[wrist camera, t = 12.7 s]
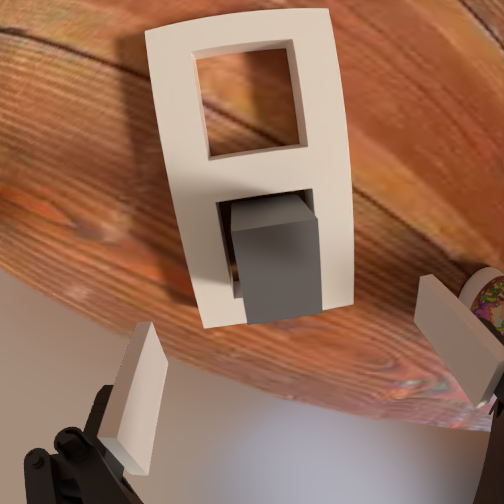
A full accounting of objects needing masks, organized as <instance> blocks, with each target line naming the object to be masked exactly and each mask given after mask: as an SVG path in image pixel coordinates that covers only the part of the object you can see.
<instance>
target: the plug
mask: <svg viewBox="0 0 504 504" xmlns="http://www.w3.org/2000/svg"><path fill="white" fill-rule="evenodd" d="M231 235H232V241H233V246H234V252H235V258H236V263H237V269H238V275H239V280H240V286H241V291H242V297H243V303H244V308H245V314H246V319H247V324H248V325H251V324H257V323H264V322H271V321H277V320H283V319H289V318H295V317H301V316H307V315H313V314H318V313H322V283H321V261H320V243H319V228H318V218H317V217H316V216H315V215H314V214H313V212H312V211H311V210H310V209H309V208H308V207H307V205H306V204H305V203H304V202H303V201H302V200H301V198H300V197H299V196H298V195H297V194H291V195H284V196H277V197H269V198H262V199H256V200H249V201H242V202H236V203H231Z"/></svg>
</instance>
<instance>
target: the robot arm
mask: <svg viewBox="0 0 504 504" xmlns="http://www.w3.org/2000/svg"><path fill="white" fill-rule="evenodd" d="M414 322H415V324H416V325H417V326H418V328H419V329H420V330H421V332H422V333H423V334H424V336H425V337H426V338H427V340H428V341H429V342H430V344H431V345H432V346H433V348H434V349H435V350H436V352H437V353H438V355H439V356H440V357H441V359H442V360H443V361H444V363H445V364H446V366H447V367H448V369H449V370H450V371H451V373H452V374H453V376H454V377H455V379H456V380H457V381H458V383H459V384H460V386H461V387H462V389H463V390H464V392H465V393H466V395H467V396H468V398H469V399H470V401H471V402H472V404H473V405H474V407H475V408H476V409H477V408H479V407H481V406H483V405H485V404H487V403H489V401H490V399H491V397H492V395H493V394H495V395H496V397H497V399H496V401H495V403H494V404H493V406H492V408H491V410H490V412H489V414H488V415H491V413H492V412H493V410H494V413H493V420H492V426H491V432H490V438H489V443H488V448H487V453H486V457H485V462H484V466H483V470H482V474H481V478H480V481H479V485H478V488H477V492H476V495H475V498H474V502H473V504H504V335H502V333H501V332H500V331H499V330H497V328H496V327H495V326H494V325H493V324H492V323H491V322H490V321H488V320H486V319H485V318H483V317H480V318H477V317H476V316H475V315H474V314H473V313H472V312H471V311H470V310H469V309H468V308H467V307H466V306H465V305H464V304H463V303H462V302H461V301H460V300H459V299H458V298H457V297H456V296H455V295H454V294H453V293H452V292H451V291H450V290H449V289H448V288H447V287H445V286H444V285H443V284H442V283H441V282H440V281H439V280H438V279H437V278H436V277H435V276H434V275H433V274H430V275H426V276H421V277H420V282H419V289H418V296H417V303H416V310H415V316H414ZM167 367H168V362H167V359H166V357H165V354H164V352H163V349H162V347H161V344H160V342H159V339H158V337H157V334H156V331H155V329H154V326H153V324H152V321H149V322H139V323H137V324H136V326H135V329H134V332H133V334H132V337H131V339H130V342H129V345H128V347H127V350H126V353H125V355H124V358H123V361H122V363H121V366H120V369H119V372H118V375H117V377H116V380H115V383H114V385H104V386H103V387H102V389H101V390H100V391H99V392H98V393H97V395H96V398H95V400H94V405H93V406H92V409H91V413H90V414H89V417H88V420H87V423H86V426H85V428H84V431H83V432H82V431H81V429H79V428H77V427H68V428H65V429H63V430H61V431H60V432H59V433H58V434H57V436H56V437H55V440H54V448H55V450H57V452H58V454H52V455H50V454H49V453H48V452H47V451H46V450H45V449H42V448H35V449H33V450H31V451H30V452H29V453H28V454H27V455H26V457H25V459H24V476H25V488H26V498H27V504H144V503H143V502H142V501H141V500H140V498H139V497H138V496H137V494H136V493H135V492H134V490H133V489H132V487H131V486H130V484H129V483H128V482H127V480H126V479H125V478H124V477H123V471H124V468H125V469H126V470H127V471H128V472H129V473H130V474H134V475H148V474H149V466H150V460H151V454H152V448H153V442H154V436H155V430H156V425H157V419H158V413H159V408H160V402H161V397H162V392H163V387H164V381H165V377H166V372H167Z"/></svg>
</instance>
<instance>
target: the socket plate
mask: <svg viewBox="0 0 504 504" xmlns="http://www.w3.org/2000/svg"><path fill="white" fill-rule="evenodd" d="M145 40H146V48H147V56H148V63H149V70H150V77H151V84H152V91H153V97H154V104H155V110H156V116H157V122H158V128H159V133H160V139H161V144H162V150H163V155H164V160H165V166H166V171H167V176H168V181H169V186H170V190H171V195H172V200H173V205H174V209H175V214H176V218H177V223H178V227H179V232H180V236H181V240H182V245H183V249H184V253H185V257H186V261H187V265H188V269H189V273H190V277H191V281H192V285H193V289H194V293H195V297H196V300H197V304H198V308H199V312H200V315H201V319H202V322H203V326H204V328H211V327H219V326H226V325H234V324H241V323H247V319H246V314H245V308H244V303H243V297H242V291H241V286H240V280H239V281H233V276H232V271H231V265H230V260H229V255H228V249H227V244H226V238H225V233H224V228H223V222H222V217H221V211H220V205H219V202H221V201H227V200H233V199H240V198H246V197H253V196H259V195H266V194H273V193H280V192H288V191H295V190H303V189H305V198H306V205H307V207H308V208H309V209H310V210H311V211H312V212H313V214H314V215H315V216H316V217H317V218H318V228H319V243H320V261H321V283H322V310H326V309H331V308H337V307H342V306H347V305H352V304H353V301H354V232H353V204H352V185H351V170H350V157H349V145H348V135H347V125H346V116H345V107H344V99H343V92H342V84H341V77H340V71H339V64H338V58H337V52H336V46H335V41H334V35H333V30H332V25H331V20H330V15H329V10H328V9H326V8H298V9H274V10H260V11H249V12H240V13H232V14H225V15H218V16H211V17H205V18H200V19H194V20H189V21H184V22H180V23H175V24H171V25H166V26H162V27H158V28H154V29H151V30H147V31H145ZM282 48H286V52H287V58H288V64H289V70H290V77H291V83H292V90H293V97H294V104H295V111H296V119H297V127H298V134H299V143H300V144H297V145H288V146H280V147H272V148H264V149H257V150H250V151H243V152H236V153H230V154H224V155H218V156H212V157H211V153H210V148H209V142H208V136H207V129H206V123H205V117H204V111H203V105H202V98H201V92H200V85H199V79H198V72H197V66H196V60H197V59H203V58H208V57H214V56H221V55H227V54H234V53H242V52H250V51H259V50H269V49H282Z"/></svg>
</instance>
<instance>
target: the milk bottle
mask: <svg viewBox="0 0 504 504" xmlns="http://www.w3.org/2000/svg"><path fill="white" fill-rule="evenodd" d="M458 299H459V300H460V301H461V302H462V303H463V304H464V305H465V306H466V307H467V308H468V309H469V310H470V311H471V312H472V313H473V314H474V315H475V316H476V317H477V318H480V317H483V318H485V319H486V320H488V321H490V322H491V323H492V324H493V325H494V326H495V327H496V328H497V330H499V331H500V332H501V333H502V335H504V274H503V273H501V272H500V271H499V270H497V269H495V268H493V267H485V268H482V269H480V270H478V271H477V272H476V273H474V274H473V275H472V276H471V277H470V278H469V279H468V281H467V282H466V283H465V285H464V287H463V288H462V290H461V293H460V295H459V298H458Z"/></svg>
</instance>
